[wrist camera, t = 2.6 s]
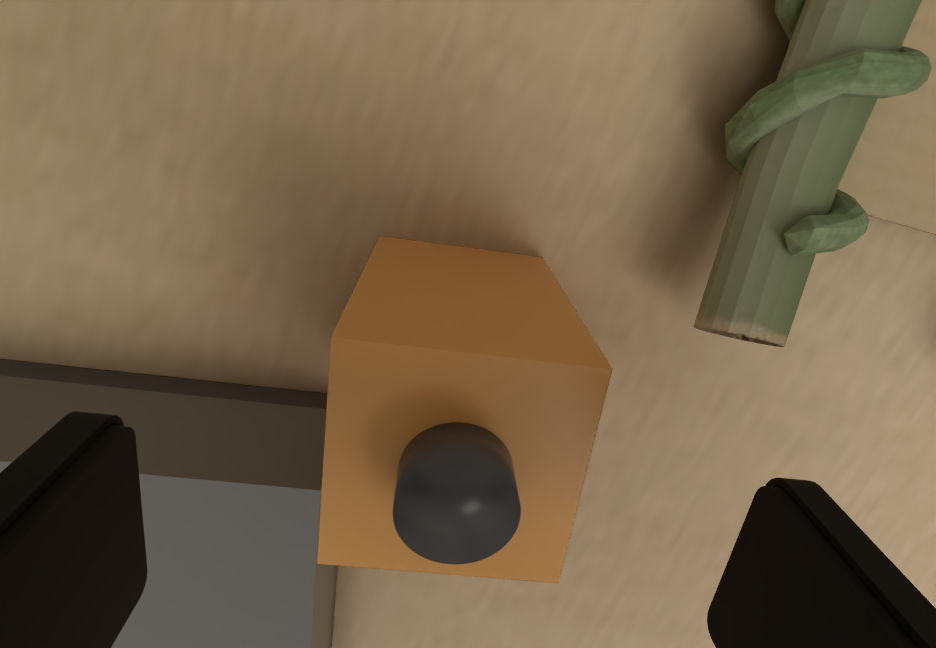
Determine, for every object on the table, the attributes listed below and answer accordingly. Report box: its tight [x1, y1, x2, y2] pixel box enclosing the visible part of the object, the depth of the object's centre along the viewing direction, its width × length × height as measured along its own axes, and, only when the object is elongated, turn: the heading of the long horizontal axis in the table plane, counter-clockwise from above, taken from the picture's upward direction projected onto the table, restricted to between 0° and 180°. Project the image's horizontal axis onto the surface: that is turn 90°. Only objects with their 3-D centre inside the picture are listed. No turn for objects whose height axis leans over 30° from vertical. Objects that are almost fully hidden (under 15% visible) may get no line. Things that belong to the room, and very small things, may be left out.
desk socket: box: [0, 359, 338, 648], centre depth 18 cm, size 18×14×5 cm
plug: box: [317, 236, 612, 583], centre depth 14 cm, size 5×5×9 cm
